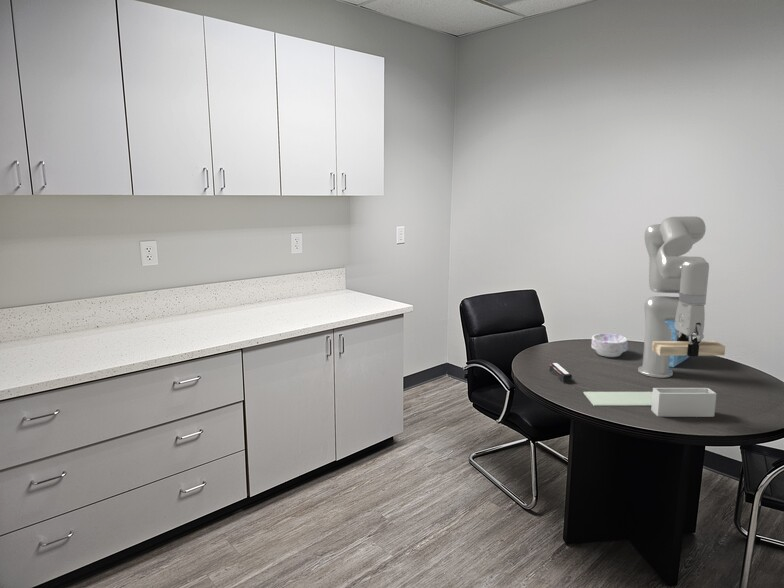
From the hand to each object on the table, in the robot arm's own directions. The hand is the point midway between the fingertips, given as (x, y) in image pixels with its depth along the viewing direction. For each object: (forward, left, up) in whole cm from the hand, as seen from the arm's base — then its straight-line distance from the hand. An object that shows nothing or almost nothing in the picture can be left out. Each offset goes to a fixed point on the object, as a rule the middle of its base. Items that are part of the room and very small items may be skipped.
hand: (687, 352), depth 172 cm
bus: (-38, -30, -22) cm, 53 cm away
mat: (-12, -14, -21) cm, 28 cm away
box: (0, 0, -21) cm, 21 cm away
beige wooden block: (0, 0, 0) cm, 0 cm away
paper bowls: (-65, -2, -21) cm, 68 cm away
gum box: (-55, +23, -21) cm, 63 cm away
